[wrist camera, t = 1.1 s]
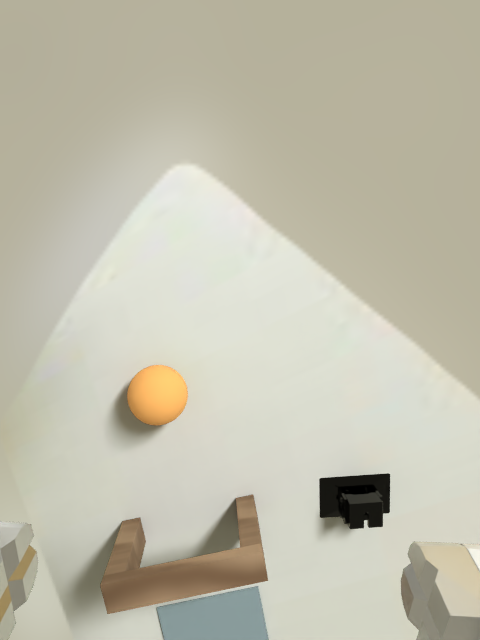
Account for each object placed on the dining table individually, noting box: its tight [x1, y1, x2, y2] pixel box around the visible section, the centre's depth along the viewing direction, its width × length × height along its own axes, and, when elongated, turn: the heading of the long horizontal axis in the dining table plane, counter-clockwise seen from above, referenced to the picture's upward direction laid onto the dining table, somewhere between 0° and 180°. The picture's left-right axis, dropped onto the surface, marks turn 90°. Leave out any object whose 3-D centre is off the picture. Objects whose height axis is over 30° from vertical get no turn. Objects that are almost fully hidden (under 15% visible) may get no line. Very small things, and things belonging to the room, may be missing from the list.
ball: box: [127, 365, 188, 425], centre depth 44 cm, size 6×6×6 cm
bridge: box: [100, 495, 268, 614], centre depth 45 cm, size 3×15×10 cm, turn 100°
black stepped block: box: [320, 474, 390, 529], centre depth 49 cm, size 12×7×5 cm, turn 92°
